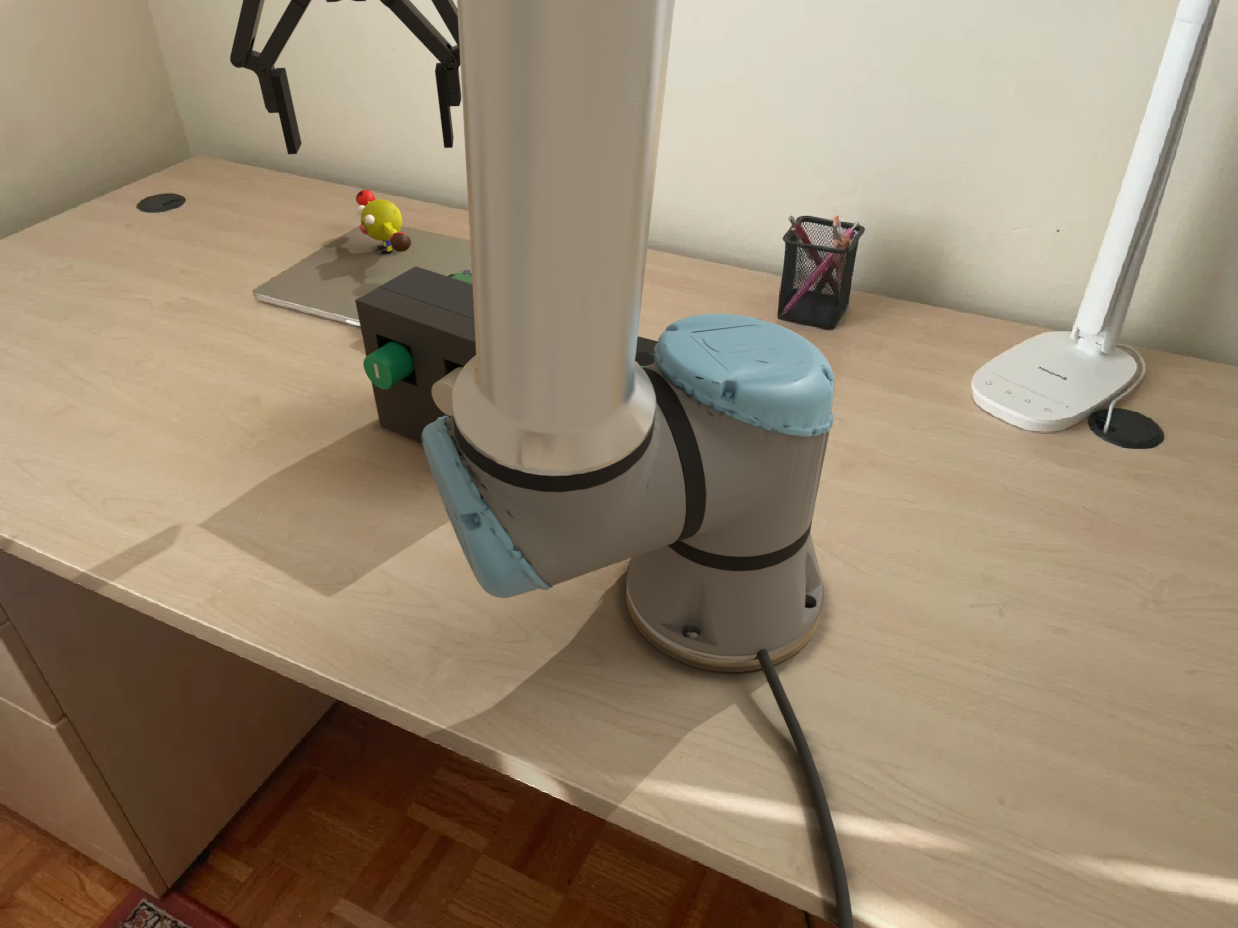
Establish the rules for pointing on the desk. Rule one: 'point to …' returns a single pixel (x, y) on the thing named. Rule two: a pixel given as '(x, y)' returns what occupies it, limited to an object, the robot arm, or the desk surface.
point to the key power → (388, 365)
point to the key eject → (445, 391)
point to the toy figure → (382, 222)
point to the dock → (418, 341)
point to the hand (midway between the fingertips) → (372, 146)
